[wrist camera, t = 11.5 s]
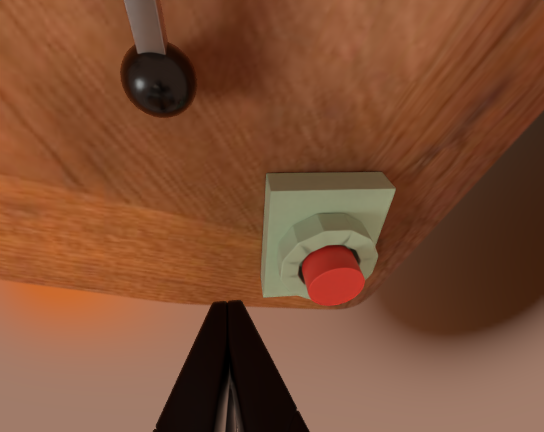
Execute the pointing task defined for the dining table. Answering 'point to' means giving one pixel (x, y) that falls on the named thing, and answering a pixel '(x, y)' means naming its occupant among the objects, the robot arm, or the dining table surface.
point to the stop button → (332, 275)
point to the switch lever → (155, 64)
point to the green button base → (319, 223)
